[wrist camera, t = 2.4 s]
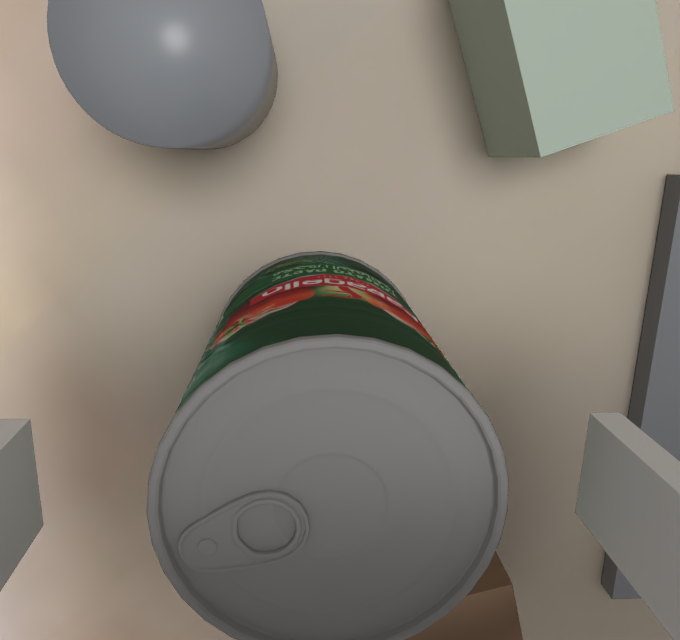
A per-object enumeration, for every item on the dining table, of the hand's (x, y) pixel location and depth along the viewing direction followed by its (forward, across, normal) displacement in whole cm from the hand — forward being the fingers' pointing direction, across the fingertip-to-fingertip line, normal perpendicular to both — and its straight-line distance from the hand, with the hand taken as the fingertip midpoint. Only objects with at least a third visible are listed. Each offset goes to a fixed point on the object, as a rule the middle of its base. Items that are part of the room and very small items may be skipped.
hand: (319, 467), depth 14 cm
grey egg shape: (+10, +4, -10) cm, 14 cm away
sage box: (+10, -7, -11) cm, 16 cm away
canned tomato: (+10, 0, 0) cm, 10 cm away
